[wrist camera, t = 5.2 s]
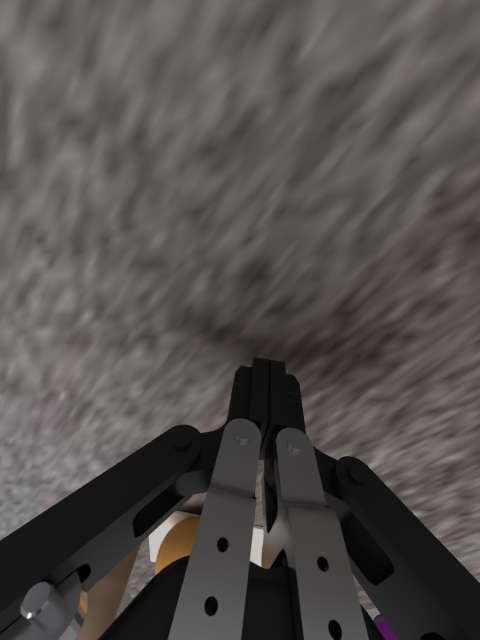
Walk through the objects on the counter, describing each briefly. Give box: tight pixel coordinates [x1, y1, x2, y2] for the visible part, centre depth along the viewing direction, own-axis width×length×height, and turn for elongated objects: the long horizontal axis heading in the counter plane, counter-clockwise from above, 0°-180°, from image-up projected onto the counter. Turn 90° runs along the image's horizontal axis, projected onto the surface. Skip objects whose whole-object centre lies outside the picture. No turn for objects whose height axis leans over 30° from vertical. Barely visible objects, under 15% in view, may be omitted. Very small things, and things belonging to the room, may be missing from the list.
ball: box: [155, 517, 200, 575], centre depth 22 cm, size 6×6×6 cm
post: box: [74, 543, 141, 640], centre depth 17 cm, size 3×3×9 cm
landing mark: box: [149, 511, 263, 566], centre depth 28 cm, size 14×14×1 cm
